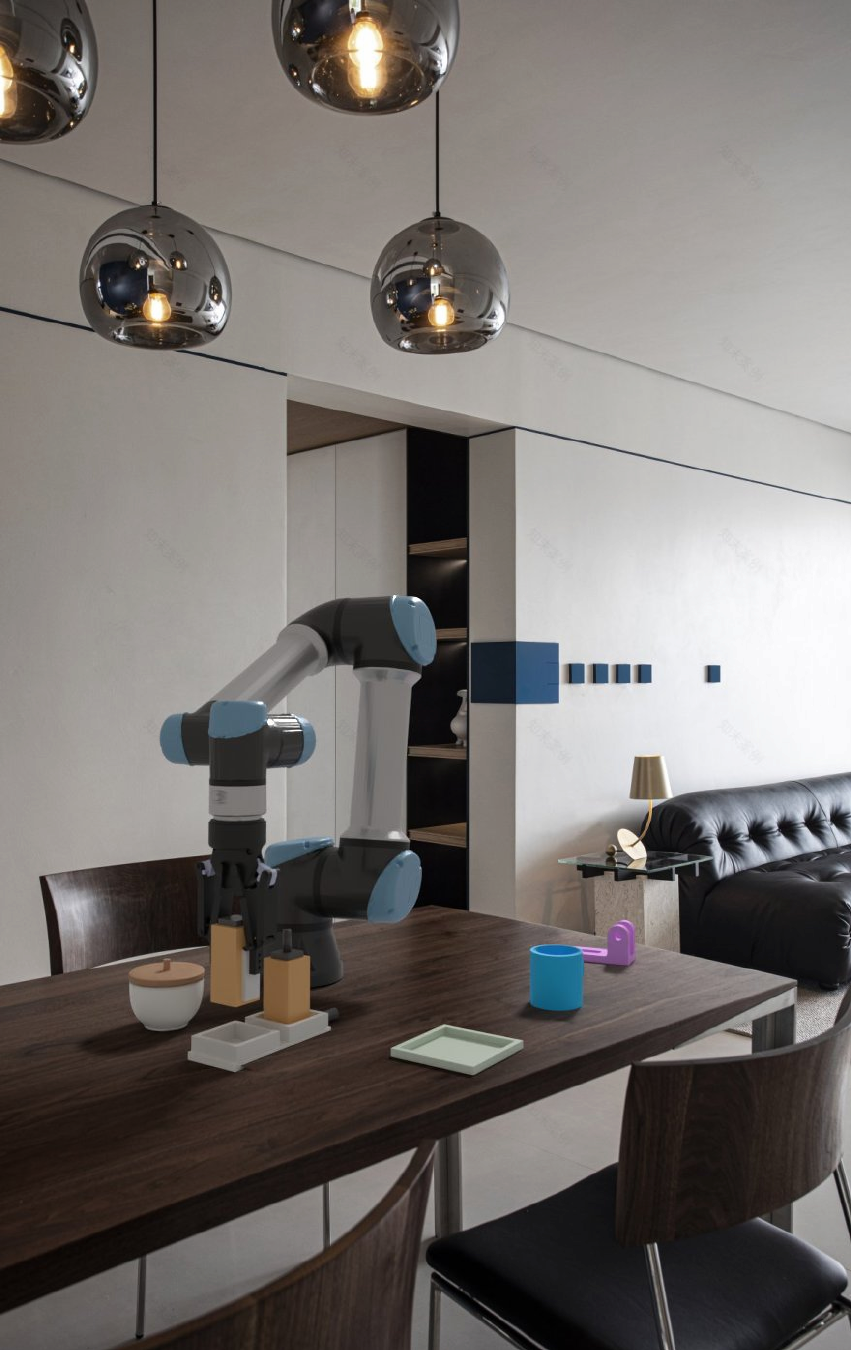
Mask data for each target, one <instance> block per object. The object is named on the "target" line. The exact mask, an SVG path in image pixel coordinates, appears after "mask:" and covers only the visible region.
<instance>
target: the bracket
mask: <svg viewBox="0 0 851 1350" xmlns="http://www.w3.org/2000/svg"><path fill="white" fill-rule="evenodd" d="M606 940H607V946H606V947H607V948H599V947H589V946H588V947H587V946H578V945H577V946H575V945H573V946H574V947H577V948H580V949H582V950H583V961H584V962H587V963H588V962H589V963H597V964H607V965H615V966H616V965H618V966H630V965H631V964H632V963H633V962H634V961H635V960H636V928H635V926H634V924H633V922H632V921H629V920H626V919H621V920H619V921H618V922H616V923H615V924H614V925H613V926H612V927H610V928H609V930H608V931H607V939H606Z"/></svg>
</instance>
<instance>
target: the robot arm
mask: <svg viewBox="0 0 851 1350" xmlns="http://www.w3.org/2000/svg"><path fill="white" fill-rule="evenodd" d="M275 641H276V642H275V643H274V644H273V645H271V647H270V648H268V649H267V650H265V652H264V653H263V654H261V655H260V656H259V657H258V658H257V659H255V660H254V661H253V662H251V664H250V665H248V666H246V668H245V669H244V670H242V671H241V672H240V673H239V674H238V675H237V676H236V677H234V678H233V679H232V680H231V681H230V682H229V683H228V684H226V685H225V686H224V687H223V688H221V690H219V691H217V693H215V694H214V695H213V696H212V697H211V698H210V699H209V700H208V701H206V702H205V703H204V704H203V705H201V707H199V708H198V709H196V711H194V712H186V711H184V712H182V713H179V712H178V713H174V714H171V715H169V716H167V718H165V720H164V721H163V723H162V725H161V728H160V731H159V745H160V747H161V751H162V754H163V756H164V757H165V759H166V760H167V761H168V762H171V764H177V765H185V766H186V765H187V766H190V767H195V766H199V767H203V766H205V767H207V766H209V773H208V774H209V778H208V814H209V815H211V817H212V818H211V819H209V821H208V823H207V825H208V826H207V829H208V830H207V832H208V833H207V835H208V836H207V843H208V844H207V845H208V847H210V848H211V849H212V851H211V854H210V857H209V859H207V860H204V861H198V862H195V863H194V871H195V875H196V878H197V879H196V880H197V935H198V936H199V937H203V938H205V939H207V942H208V943H209V966H210V967H211V925H212V924H217V923H218V918H222V917H227V916H231V915H232V910H233V909H232V908H233V903H234V897H236V898H238V901H239V908H240V913H241V914H240V915H242V921H243V927H244V934H245V940H246V946H245V947H242V948H243V950H242V967H241V1001H248V1000H251V999H254V998H257V997H260V996H261V985H262V986H264V958H266V957H270V956H271V952H273V951H276V950H280V949H283V929H292V948H291V949H296V950H302V951H303V955H306V956H310V988H314V987H315V988H316V987H321V986H325V985H326V986H327V985H330V984H333V983H337V982H338V981H340V980H342V978H344V977H343V976H344V962H343V959H342V958H341V956H340V952H339V947H338V943H337V941H336V937H335V934H334V933H335V932H334V930H333V929H334V923H333V922H334V919H337V920H338V919H339V920H351V921H358V922H369V923H372V924H381V923H383V924H395V923H399V922H401V921H402V920H404V919H405V918H406V917H407V916H408V915H409V914H410V912H411V911H412V908H413V907H414V905H415V904H416V901H417V899H418V895H419V892H420V888H421V882H422V871H423V870H422V867H421V859H420V857H419V856H418V854H416V853H415V852H413V850H410V847H411V846H410V844H411V840H410V838H409V837H408V836H407V835H406V833H404V831H403V828H402V826H403V814H404V801H405V800H404V799H405V782H406V770H407V756H408V755H407V753H408V740H409V729H410V727H409V726H410V713H411V712H410V711H411V699H412V687H413V686H414V685H415V684H416V683H417V682H418V681H419V680H420V679H421V678H422V668H423V666H424V667H426V666H427V665H430V664H431V663H432V662H433V661H434V658H435V655H436V653H437V632H436V626H435V622H434V619H433V616H432V614H431V612H430V608H429V607H428V606H427V605H426V603H425V602H424V601H423V600H422V599H420V598H418V597H416V596H412V595H411V596H408V595H407V596H405V595H404V596H403V595H397V594H394V595H387V596H369V597H343V598H342V597H341V598H336V599H332V600H328V601H326V602H323V603H322V604H319V605H316V606H315V607H312V608H311V609H309V610H307V611H306V612H304V613H302V614H301V615H299V616H298V617H296V618H295V619H294V620H292V621H291V622H289V624H287V625H286V626H285V627H284V628H283V629H281V630H280V632H279V633H278V635H277V637H276V640H275ZM336 666H352V674H353V675H354V677H355V678H356V679H357V680H358V681H359V683H360V687H359V688H360V689H359V701H358V714H357V715H358V716H357V726H356V727H357V728H356V738H355V739H356V741H355V752H354V753H355V754H354V763H353V764H354V765H353V769H354V770H353V779H352V780H353V781H352V793H351V803H350V804H351V808H350V820H349V826H348V828H347V829H346V830H344V831H343V832H342V833H341V834H340V835H339V842H338V846H335V842H334V839H333V837H331V836H316V837H305V838H297V839H290V840H284V841H277V842H274V843H271V844H270V845H269V846H267V847H266V848H265V851H264V853H263V849H264V847H265V845H266V844H267V843H266V842H267V820H265V818H263V817H262V816H263V815H266V814H267V769H268V770H269V769H271V770H272V769H282V768H284V769H285V768H287V769H291V768H293V767H296V766H300V765H301V766H302V765H303V764H304V763H306V762H307V761H309V760H310V759H311V758H312V756H313V755H314V752H315V749H316V746H317V737H316V730H315V728H314V726H313V725H312V723H311V722H310V721H309V720H308V719H307V718H305V717H304V716H302V715H298V714H293V713H279V714H278V713H277V714H276V713H275V714H273V713H272V714H270V713H271V711H272V710H274V708H275V707H276V706H278V704H279V703H281V702H282V701H283V700H284V699H285V698H286V697H287V696H288V695H289V694H290V693H291V692H292V691H293V690H295V688H296V687H298V685H300V684H301V683H302V682H303V681H304V680H305V679H306V678H307V677H313V676H316V675H318V674H320V673H322V671H323V670H324V669H326V668H330V667H336ZM263 854H264V856H263ZM255 937H256V939H255ZM260 998H261V997H260Z"/></svg>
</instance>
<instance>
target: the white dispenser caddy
mask: <svg viewBox="0 0 851 1350" xmlns="http://www.w3.org/2000/svg"><path fill="white" fill-rule="evenodd" d="M291 948H292V929H283V949H280V950H276V951H273V952H271V956H270V957H266V958H264V985H263V1011H259V1012H256V1013H254V1014H250V1015H248V1016H245V1017H244V1022H243V1021H239V1020H233V1021H230V1022H227V1023H224V1024H221V1025H219V1026H215V1027H213V1028H209V1029H206V1030H204V1031H201V1032H198V1033H195V1034H192V1035H191V1036H190V1037H191V1038H190V1039H191V1041H190V1042H191V1045H190V1046H191V1048H190V1049H191V1050H190V1051H187V1060H188V1061H192V1062H195V1063H199V1064H203V1065H207V1066H211V1067H215V1068H219V1069H222V1070H225V1071H229V1072H232V1073H233V1072H234V1073H237V1072H239V1071H241V1070H244V1069H247V1066H243V1065H246V1064H248V1063H251V1062H254V1061H256V1060H259V1059H261V1058H264V1057H266V1056H268V1055H271V1054H274V1053H276V1052H278V1051H282V1050H284V1049H286V1048H288V1047H291V1046H293V1045H296V1044H299V1043H301V1042H305V1041H306V1040H310V1039H311V1038H312V1039H313V1038H315V1037H316V1036H319V1035H322V1034H324V1033H327V1032H329V1031H331V1030H332V1027H331V1026H329V1022H332V1021H333V1020H336V1019H338V1018H339V1015H340V1013H339V1009H337V1008H336V1007H331V1008H329V1009H326V1010H323V1011H320V1010H316V1009H315V1010H314V1009H311V987H310V956H306V955H303V951H302V950H296V949H291Z"/></svg>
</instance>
